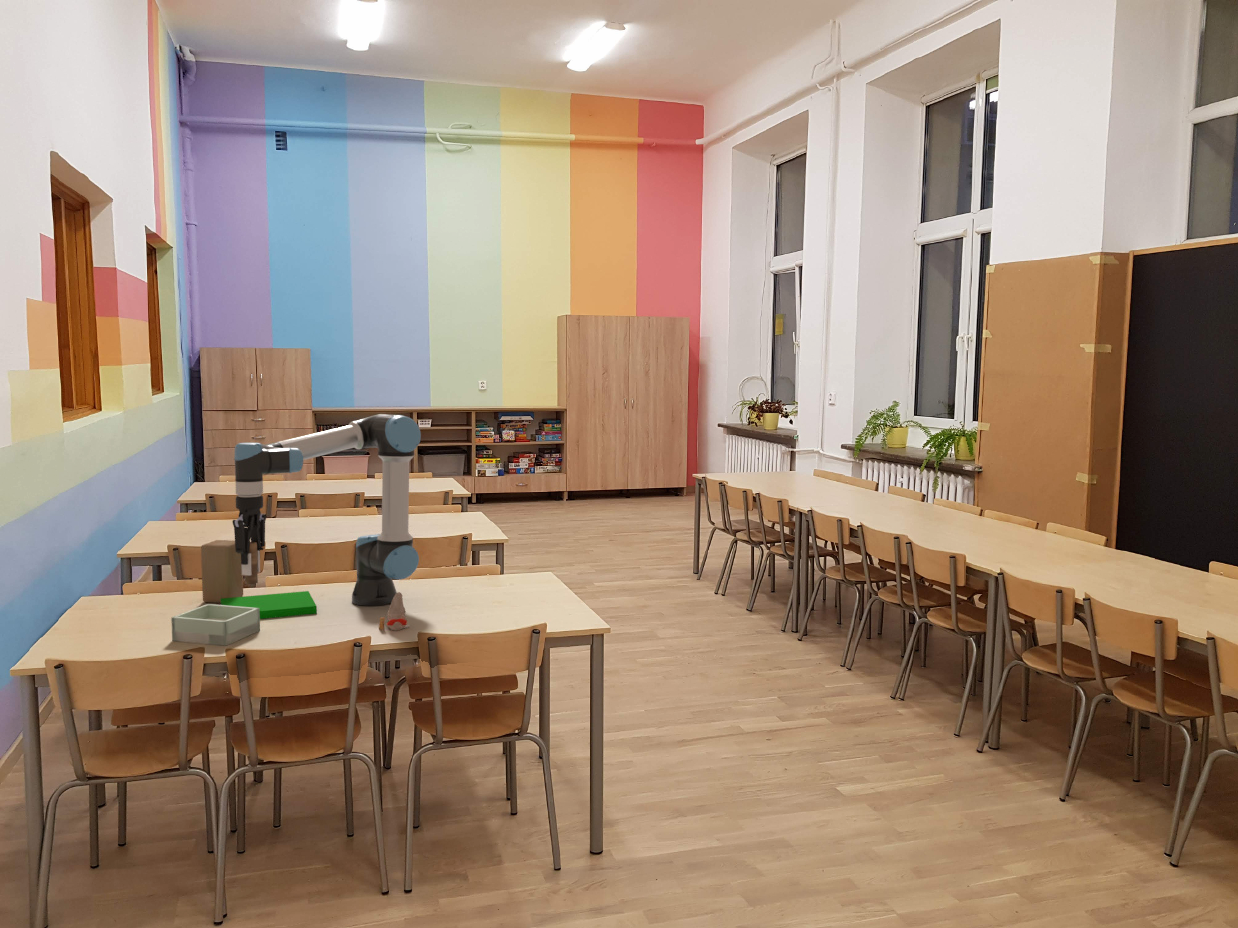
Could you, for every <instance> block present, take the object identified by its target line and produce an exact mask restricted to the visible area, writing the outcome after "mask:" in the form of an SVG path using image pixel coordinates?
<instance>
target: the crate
mask: <svg viewBox="0 0 1238 928" xmlns="http://www.w3.org/2000/svg"><path fill="white" fill-rule="evenodd" d="M170 620H171V640H172V642H178V643H179V642H181V643H193V644H204V645H212V646H213V645H214V646H223V647H226V646H230V645H231V644H234V643H236V642H238V641H240V640H242V639H244V638H248V637H249V636H251V635H253V634H256V633H258V632H260V631H261V619H260V611H259V608H252V607H240V606H227V605H221V604H216V603H213V604H212V603H207V604H203V605H201V606H198V607H195V608H193V609H190V610H188V611H187V610H186V612H183V613H180V614H177V615H174V616H171V618H170Z"/></svg>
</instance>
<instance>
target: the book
mask: <svg viewBox="0 0 1238 928" xmlns="http://www.w3.org/2000/svg"><path fill="white" fill-rule="evenodd" d="M220 605H227V606H240V607H252V608H259V611H260V620H263V619H265V620H266V619H274V618H284V617H286V618H287V617H295V616H296V617H298V616H306V615H307V616H308V615H316V614H318V612H317V611H318V608H317V604H316V603H315V600H314V598H313V597H312V595H311V593H310V591H309V590H305V591H304V590H303V591H293V592H283V593H282V592H281V593H279V592H278V593H271V594H257V595H247V596H246V595H245V596H244V595H243V596H242V597H233V598H221V603H220Z"/></svg>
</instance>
